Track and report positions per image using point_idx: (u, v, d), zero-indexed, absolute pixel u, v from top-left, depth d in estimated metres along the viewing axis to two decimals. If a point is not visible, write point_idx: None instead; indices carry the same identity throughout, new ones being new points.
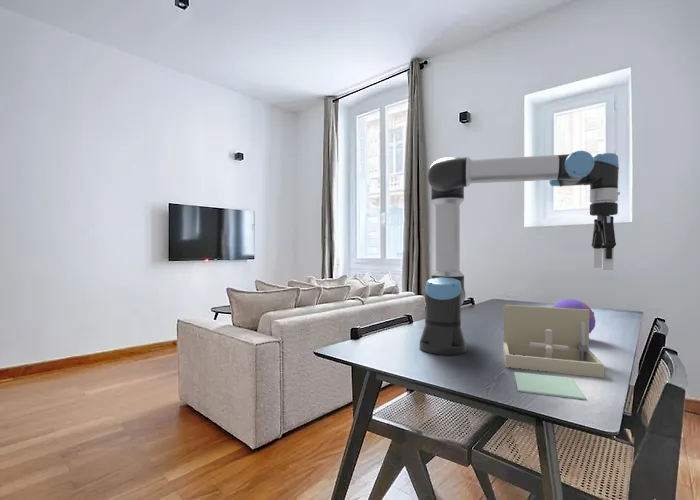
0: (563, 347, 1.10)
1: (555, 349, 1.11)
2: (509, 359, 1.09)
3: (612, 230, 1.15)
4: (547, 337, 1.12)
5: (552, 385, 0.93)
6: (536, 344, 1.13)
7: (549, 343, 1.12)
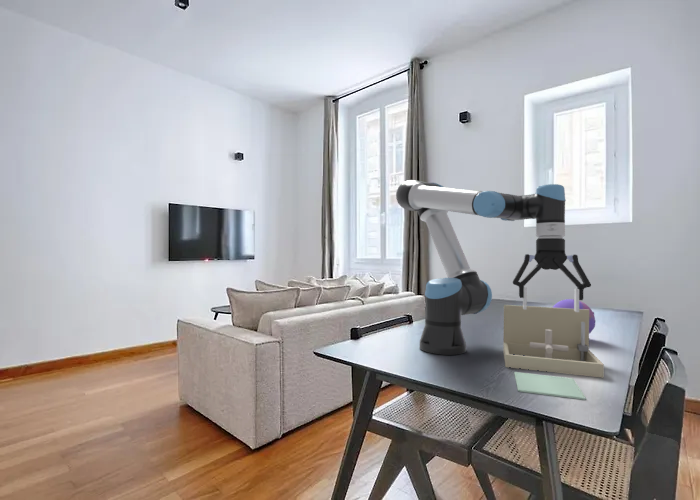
0: (563, 347, 1.10)
1: (555, 349, 1.11)
2: (509, 359, 1.09)
3: (520, 269, 1.14)
4: (547, 337, 1.12)
5: (552, 385, 0.93)
6: (536, 344, 1.13)
7: (549, 343, 1.12)
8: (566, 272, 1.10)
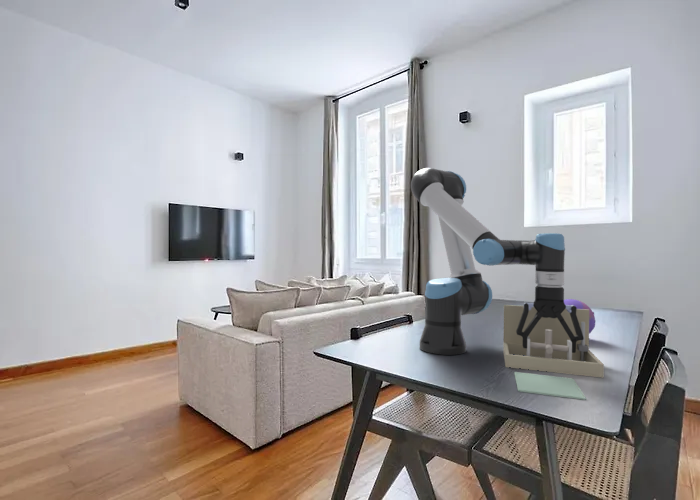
0: (563, 347, 1.10)
1: (555, 349, 1.11)
2: (509, 359, 1.09)
3: (521, 318, 1.14)
4: (547, 337, 1.12)
5: (552, 385, 0.93)
6: (536, 344, 1.13)
7: (549, 343, 1.12)
8: (562, 322, 1.10)
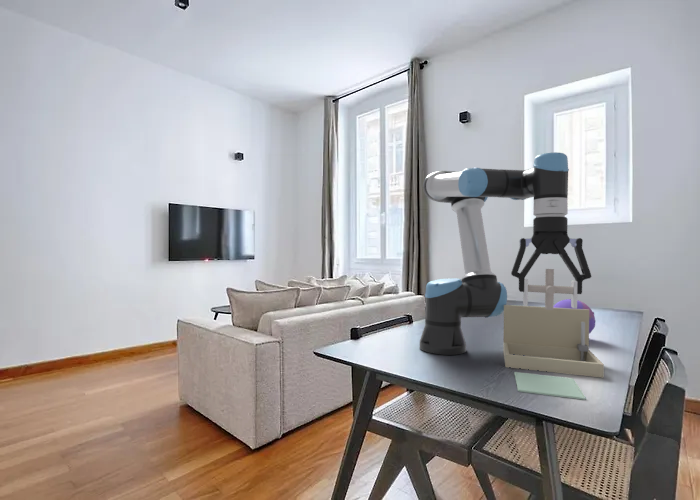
0: (567, 288, 0.93)
1: (557, 291, 0.93)
2: (509, 359, 1.09)
3: (517, 256, 0.97)
4: (548, 277, 0.94)
5: (552, 385, 0.93)
6: (535, 286, 0.96)
7: (550, 284, 0.94)
8: (566, 258, 0.93)
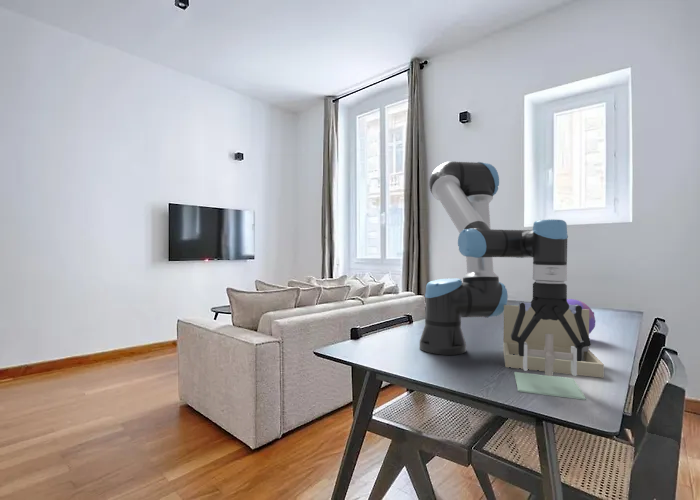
0: (566, 355, 0.93)
1: (557, 357, 0.93)
2: (509, 359, 1.09)
3: (516, 321, 0.97)
4: (547, 343, 0.94)
5: (552, 385, 0.93)
6: (534, 351, 0.96)
7: (550, 350, 0.94)
8: (565, 325, 0.93)
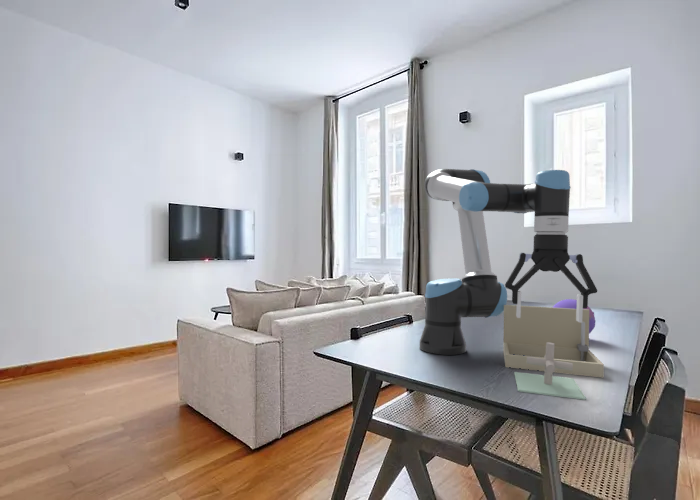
0: (567, 364, 0.93)
1: (557, 366, 0.94)
2: (509, 359, 1.09)
3: (514, 270, 0.97)
4: (548, 352, 0.94)
5: (552, 385, 0.93)
6: (535, 359, 0.96)
7: (550, 359, 0.94)
8: (568, 275, 0.93)
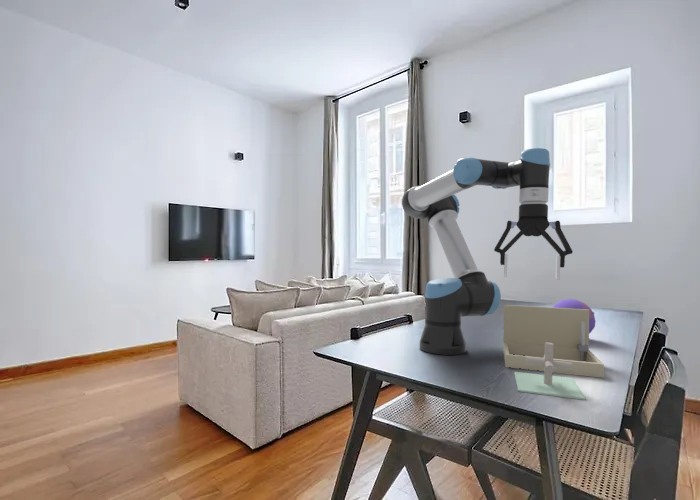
0: (566, 364, 0.93)
1: (556, 366, 0.93)
2: (509, 359, 1.09)
3: None
4: (547, 352, 0.94)
5: (552, 385, 0.93)
6: (534, 360, 0.96)
7: (549, 359, 0.94)
8: (548, 239, 1.08)
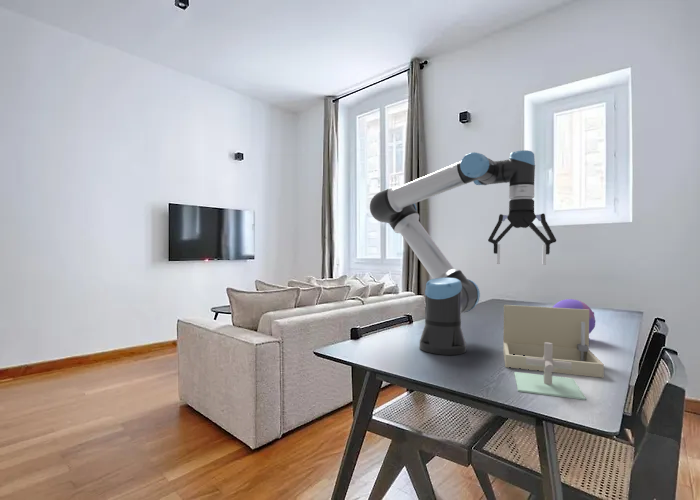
0: (565, 364, 0.93)
1: (556, 366, 0.94)
2: (509, 359, 1.09)
3: None
4: (546, 352, 0.94)
5: (552, 385, 0.93)
6: (533, 360, 0.96)
7: (549, 359, 0.94)
8: (535, 229, 1.23)
